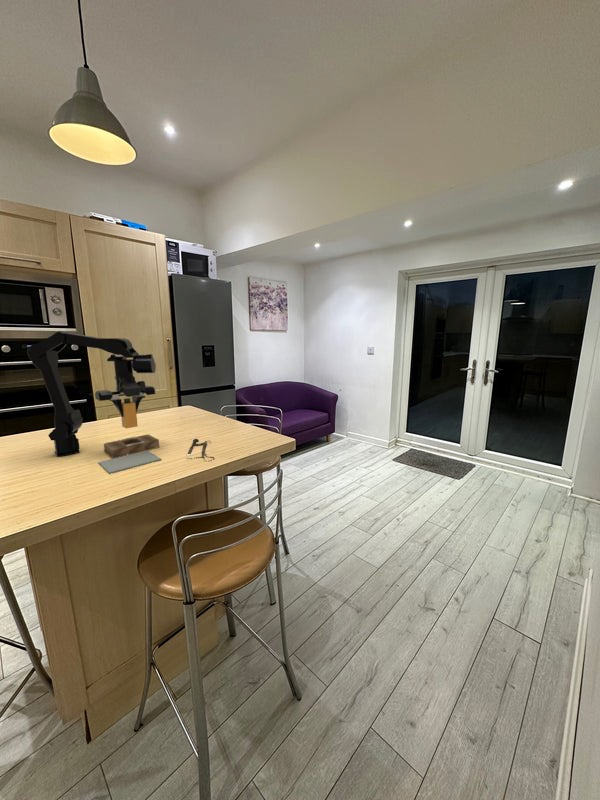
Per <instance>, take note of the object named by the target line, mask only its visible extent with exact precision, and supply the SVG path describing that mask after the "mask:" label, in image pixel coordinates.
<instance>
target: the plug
mask: <svg viewBox="0 0 600 800" xmlns="http://www.w3.org/2000/svg"><path fill="white" fill-rule="evenodd" d="M121 405H122V409H123V417H121V416H120V418H121V427H123V428H124V429H132V428H136V427H139V426H138V418H137V417H138V416H137V413H136V405H135V402H132V401H131V398H130V397H127V398H126V397H125V398H124V399H123V402H122V401H121Z"/></svg>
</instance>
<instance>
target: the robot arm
mask: <svg viewBox="0 0 600 800" xmlns="http://www.w3.org/2000/svg"><path fill="white" fill-rule="evenodd" d="M67 345H72V346H73V345H74V346H80V347H87V348H92V349H99V350H102V351H105V352H107V353H109V354H110V356H109V357H108V358H107V359H106V361H107V362H113V365H114V366H113V367H114V374H115V376H114V380H115V384H116V385H115V386H116V387H115V391H111V390H108V389H104V390H103V389H102V390H96V391H95V393H94V396H95V397H94V399H95V400H98V401H99V402H101V401H102V402H103V401H104V402H105V401H110V402H112V403H113V405H114V406H115V408H116V410H117V412H118V413H119V415H120V418H121V417H123V409H122V405H121V402H122V399H121V398H120V397H122V396H125V397H127V398H130V397H131V400H132V402H135V405H136V414H137V413H138V409H139V405H140V403H141V401H142V400H143V399H144V398H146V395H147V396H151V395H156V389H155V387H154V386H152V385H146V382H145V380H140V381H139V380H138V381H136V377H135V375H134V372H136V374H155V372H156V371H157V370H156V366H157V363H156V361H155V358H154V357H153V356H154V354H152V353H149V354H139V352H137V351H136V350H135V348H134V347H133V344H132V342H131V341H130V340H129V339H128V338H121V337H120V338H119V337H117V338H116V337H115V338H113V337H112V338H105V337H97V336H91V335H84V334H79V333H78V334H77V333H72V332H68V331H56V332H54V333H53V334H52V335H51V336H49V337H47V338H45V339H43V340H40V341H39V342H37V343H33V344H31V345H29V347H28V348H27V350H26V353H27V356H28V358H29V360H30V361H31V364H33V365H34V366H35V367H36V369H38V370H39V371H40V373H41V376H42V379H43V381H44V384H45V387H46V389H47V392H48V395H49V397H50V401H51V403H52V406H53V408H54V416H53V417H54V418H53V421H54V429H52V430H51V432H50V433H49V434H48V435H47V436H48V438H49V439H50V441H53V444H54V454H55V455H56V457H58V458H59V457H64V456H68V455H69V456H70V455H72V454H78V453H80V441H79V438H78V437H77V435H76V434H77V433H78V432H79V429H80V428H81V427H82V425H83V420H84V418H83V417H82V414H81V413H82V412H81V411H80V409H77V410H75V409H74V408H73V407H72V406H71V403H70V399H69V398H68V394H67V392H66V388H65V385H64V383H63V381H62V377H61V375H60V371H59V369H58V365H59V354H58V353H59V352H61V351H62V350H63V349H65V347H66V346H67Z"/></svg>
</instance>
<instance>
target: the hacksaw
mask: <svg viewBox="0 0 600 800" xmlns="http://www.w3.org/2000/svg"><path fill="white" fill-rule="evenodd" d="M196 442H197V443H196ZM198 442H199V439H198V438H194V439H193V440H192V443H191V446H190V447H189V449H188V451H187V454H192V452H193V449H194V448H193V447H197V446H201V445H202V449H201V456H197V457H190V458H189V457H187V459H191V460H194V459H195V458H196V459H202V458H203V462H206V460H205V458H208V456H207V453H206V448H207V445H208V440H205V441H203V442H201V443H198ZM209 443H212V441H209ZM204 456H205V457H204ZM209 457H210V459H211V460H209V462H212V460H213V461H214V460H215V457H214V456H209ZM192 458H194V459H192Z"/></svg>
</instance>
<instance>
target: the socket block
mask: <svg viewBox="0 0 600 800" xmlns="http://www.w3.org/2000/svg"><path fill="white" fill-rule="evenodd" d="M157 447H158V448H160V441H159V439H158V438H156V437H154V436H152V435H150V434H143V435H139V436H132V437H125V438H122V439H118V440H113V441H110V442H109V441H108V442H105V443H103V448H104V449H103V450H104V452H105V453H106V454H107V453H108V454H109V455H108V454H107V455H108V456H110V457H111V459H114V458H115V457H116V458H118V457H119V456H120V457H122V456H123V455H124V456H126V455H127V454H129V455H131V454H132V453H133V454H135V453H136V452H137V453H139V452H140V451H141V452H143V451H144V450H145V451H147V450H148V451H149V450H152V449H153V448H154V449H157Z"/></svg>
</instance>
